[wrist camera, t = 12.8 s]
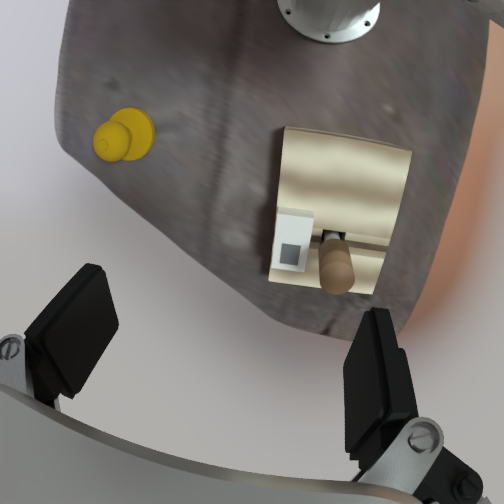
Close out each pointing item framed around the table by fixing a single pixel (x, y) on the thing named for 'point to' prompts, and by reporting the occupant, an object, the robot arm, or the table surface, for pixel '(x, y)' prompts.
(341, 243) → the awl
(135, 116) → the doorknob
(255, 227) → the table surface
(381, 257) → the cream slotted tray
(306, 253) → the block
